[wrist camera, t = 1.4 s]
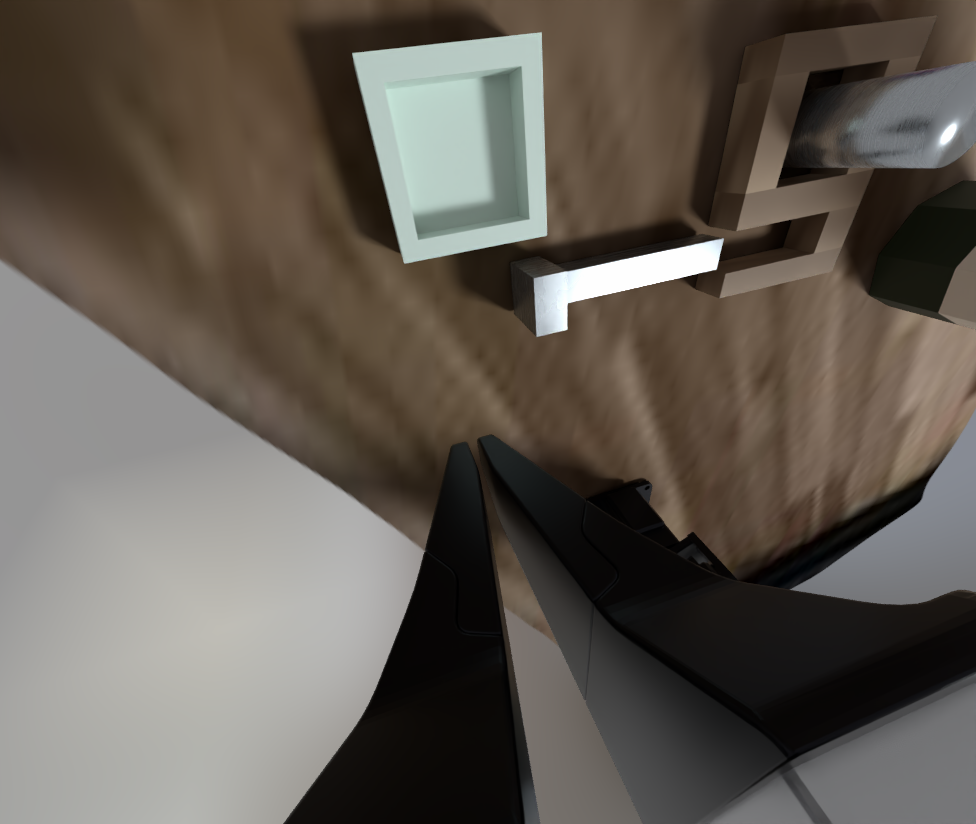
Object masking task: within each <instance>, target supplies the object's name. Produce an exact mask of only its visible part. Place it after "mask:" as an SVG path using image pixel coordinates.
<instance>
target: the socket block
mask: <svg viewBox="0 0 976 824" xmlns="http://www.w3.org/2000/svg"><path fill="white" fill-rule="evenodd" d="M937 16H938V15H935V16H927V17H919V18H911V19H903V20H894V21H886V22H878V23H870V24H862V25H854V26H846V27H838V28H829V29H821V30H813V31H805V32H797V33H789V34H784V35H781V36H777V37H774V38H771V39H768V40H765V41H762V42H758V43H755V44H752V45H749V46H746V47H745V51H744V56H743V61H742V66H741V70H740V75H739V80H738V85H737V90H736V94H735V99H734V104H733V109H732V114H731V119H730V123H729V128H728V133H727V138H726V143H725V147H724V152H723V157H722V162H721V167H720V171H719V176H718V181H717V186H716V191H715V196H714V200H713V205H712V210H711V215H710V220H709V224H708V226H710V227H716V228H722V229H727V230H733V231H739V230H744V229H749V228H754V227H758V226H763V225H768V224H773V223H777V222H782V221H787V220H792V221H791V224H790V227H789V230H788V234H787V237H786V240H785V243H784V246H783V248H778V249H774V250H769V251H765V252H760V253H756V254H751V255H747V256H742V257H738V258H733V259H729V260H724V261H720V262H718V265H717V269H715V270H711V271H707V272H702V273H698V277H697V282H696V287H695V289H696V290H699V291H702V292H704V293H707V294H710V295H712V296H715V297H718V298H723V297H727V296H731V295H735V294H739V293H744V292H748V291H752V290H756V289H760V288H765V287H769V286H773V285H777V284H781V283H785V282H790V281H794V280H798V279H802V278H806V277H810V276H815V275H819V274H823V273H827V272H831V271H832V270H833V267H834V265H835V262H836V260H837V258H838V255H839V253H840V250H841V248H842V245H843V243H844V241H845V238H846V236H847V233H848V231H849V229H850V226H851V224H852V221H853V219H854V217H855V214H856V212H857V209H858V207H859V204H860V202H861V200H862V197H863V195H864V192H865V190H866V188H867V185H868V183H869V180H870V178H871V176H872V173H873V171H874V168H811V172H810V174H806V175H800V176H795V177H790V178H785V179H780V180H779V176H780V173H781V169H782V166H783V162H784V159H785V155H786V152H787V149H788V145H789V142H790V138H791V135H792V131H793V128H794V124H795V121H796V118H797V114H798V111H799V107H800V104H801V100H802V97H803V93H804V90H805V87H806V83H807V80H808V76H809V74H815V73H822V72H829V71H836V70H843V69H844V72H843V75H842V78H841V81H840V84H845V83H850V82H856V81H862V80H868V79H874V78H880V77H885V76H891V75H897V74H903V73H909V72H915V69H916V67H917V65H918V62H919V60H920V57H921V55H922V53H923V50H924V48H925V45H926V43H927V41H928V38H929V36H930V33H931V31H932V29H933V26H934V24H935V21H936V19H937Z"/></svg>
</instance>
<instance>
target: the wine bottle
mask: <svg viewBox="0 0 976 824" xmlns="http://www.w3.org/2000/svg"><path fill="white" fill-rule="evenodd" d="M869 295H870V296H872V297H873V298H875V299H877V300H879V301H881V302H882V303H884V304H886V305H888V306H891V307H894V308H898V309H902V310H905V311H909V312H913V313H916V314H920V315H924V316H928V317H931V318H935V319H939V320H942V321H946V322H950V323H953V324H957V325H961V326H965V327H968V328H972V329H976V181H962V182H960V183H958V184H956V185H954V186H953V187H951V188H949V189H947V190H945V191H944V192H942V193H940V194H938V195H936V196H934V197H933V198H931V199H929V200H927V201H925V202H924V203H922V204H920V205H918V206H917V208H916V209H915V210H914V211H913V213H912V214H911V215H910V216H909V218H908V219H907V220H906V221H905V223H904V224H903V225H902V227H901V228H900V229H899V230H898V232H897V233H896V234H895V235H894V237H893V238H892V239H891V240H890V242H889V243H888V244H887V245H886V247H885V248H884V249H883V250H882V252H881V253H880V254H879V257H878V261H877V265H876V269H875V273H874V277H873V281H872V285H871V289H870V293H869Z"/></svg>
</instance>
